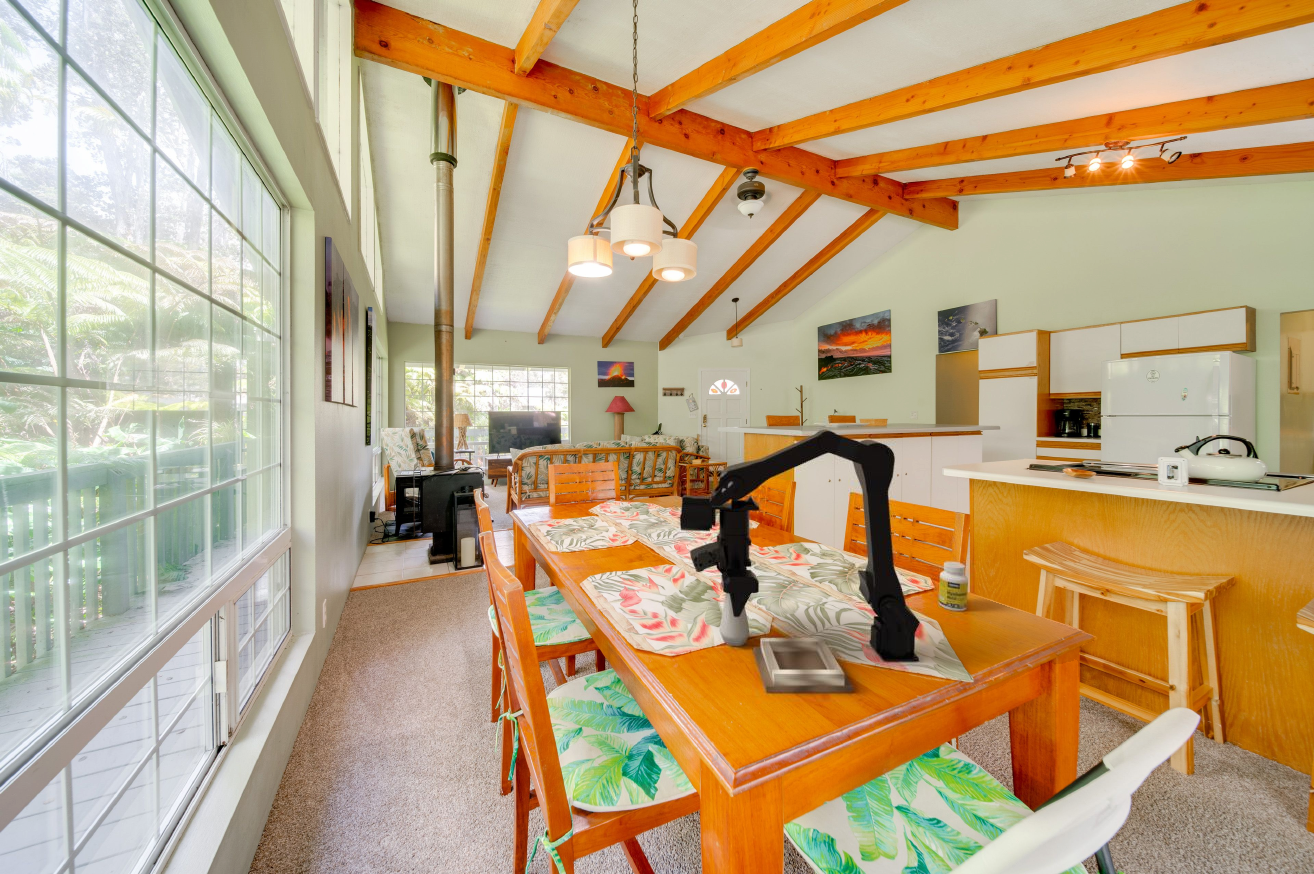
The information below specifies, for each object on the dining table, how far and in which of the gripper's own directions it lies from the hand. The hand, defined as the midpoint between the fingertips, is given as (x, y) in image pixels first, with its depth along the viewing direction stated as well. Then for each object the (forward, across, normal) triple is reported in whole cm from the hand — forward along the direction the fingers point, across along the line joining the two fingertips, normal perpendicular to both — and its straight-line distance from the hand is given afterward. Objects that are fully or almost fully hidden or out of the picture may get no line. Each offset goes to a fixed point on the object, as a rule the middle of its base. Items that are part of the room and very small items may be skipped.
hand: (734, 609), depth 92 cm
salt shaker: (+7, 0, 0) cm, 7 cm away
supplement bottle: (+7, -15, +51) cm, 54 cm away
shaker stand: (+6, +10, +10) cm, 16 cm away
